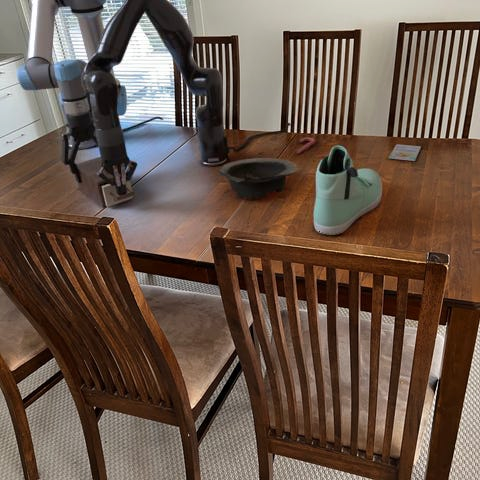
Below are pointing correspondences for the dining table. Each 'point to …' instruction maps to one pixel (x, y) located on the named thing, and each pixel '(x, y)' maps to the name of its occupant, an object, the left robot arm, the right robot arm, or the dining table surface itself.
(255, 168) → the stone bowl
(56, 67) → the left robot arm
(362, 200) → the sneaker
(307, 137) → the candy cane
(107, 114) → the right robot arm
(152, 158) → the dining table surface
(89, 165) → the cabinet
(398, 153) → the baking ingredient package
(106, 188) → the drawer
